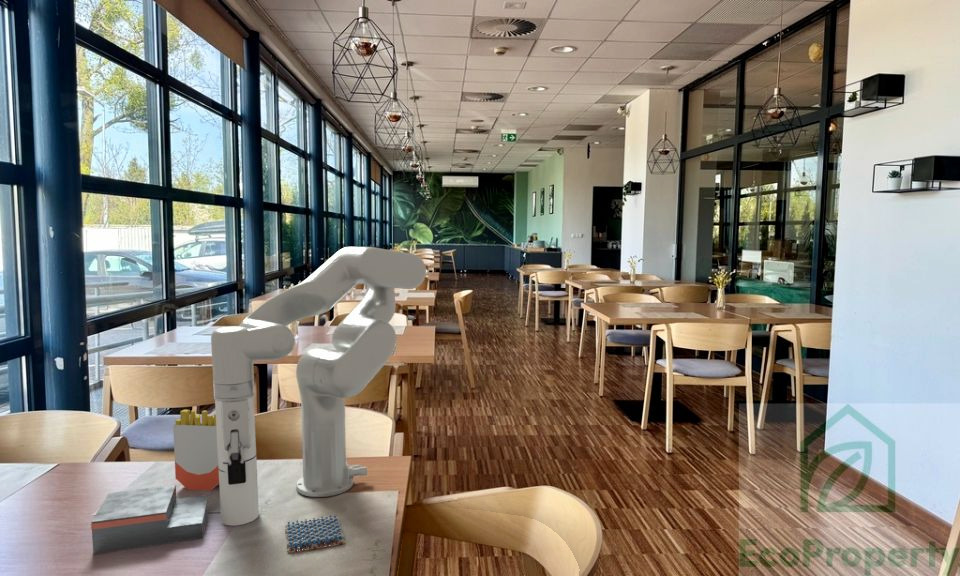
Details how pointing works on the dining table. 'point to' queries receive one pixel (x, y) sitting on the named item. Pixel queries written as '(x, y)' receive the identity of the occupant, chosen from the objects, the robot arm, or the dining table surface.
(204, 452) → the french fries container
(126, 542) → the step stand
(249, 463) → the cylindrical container
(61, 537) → the dining table surface
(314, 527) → the woven mat
